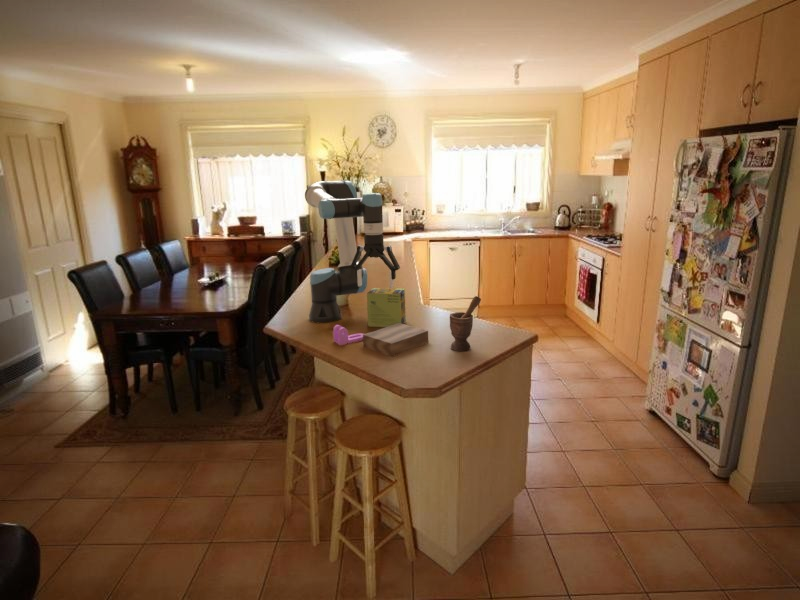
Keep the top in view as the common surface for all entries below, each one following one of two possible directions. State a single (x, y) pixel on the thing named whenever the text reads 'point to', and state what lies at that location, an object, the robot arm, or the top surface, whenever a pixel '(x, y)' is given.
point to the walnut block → (395, 339)
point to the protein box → (386, 307)
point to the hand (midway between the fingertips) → (375, 286)
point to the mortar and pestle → (462, 326)
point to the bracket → (345, 336)
